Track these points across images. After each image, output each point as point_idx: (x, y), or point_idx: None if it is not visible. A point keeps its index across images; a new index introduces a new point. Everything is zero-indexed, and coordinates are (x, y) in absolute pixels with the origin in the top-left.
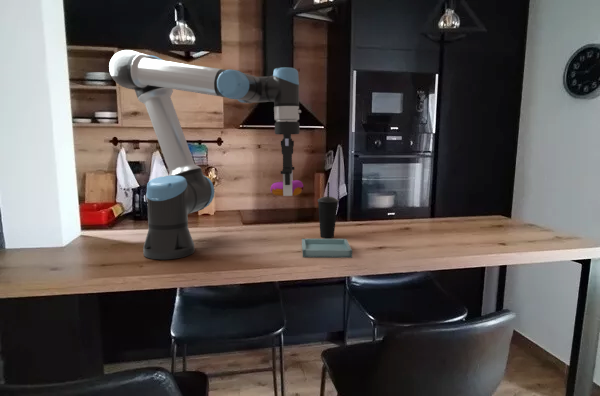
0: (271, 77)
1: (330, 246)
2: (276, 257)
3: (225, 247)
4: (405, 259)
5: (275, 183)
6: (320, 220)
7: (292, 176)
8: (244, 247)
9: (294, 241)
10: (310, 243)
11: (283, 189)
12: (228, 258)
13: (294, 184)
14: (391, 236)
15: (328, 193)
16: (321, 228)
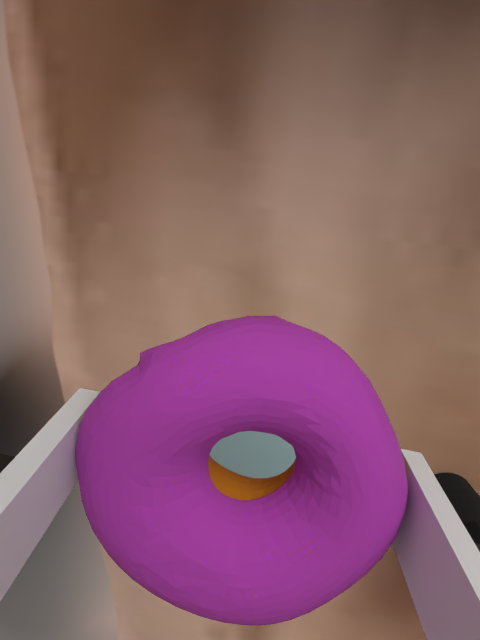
0: None
1: (277, 468)
2: (187, 251)
3: (383, 14)
4: (130, 615)
5: (185, 388)
6: (469, 524)
7: (422, 623)
8: (361, 120)
9: (408, 360)
10: None
11: (53, 417)
12: (194, 32)
13: (99, 539)
14: None
15: None
16: (449, 499)
